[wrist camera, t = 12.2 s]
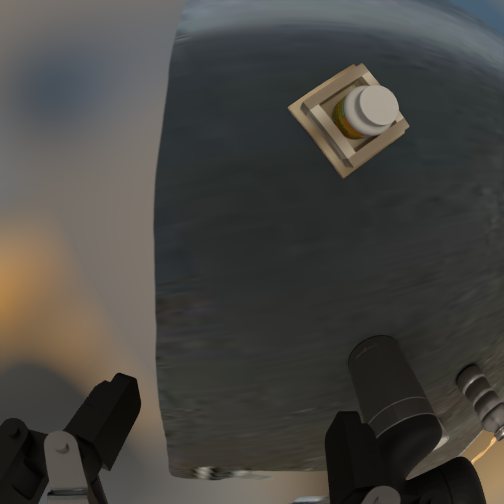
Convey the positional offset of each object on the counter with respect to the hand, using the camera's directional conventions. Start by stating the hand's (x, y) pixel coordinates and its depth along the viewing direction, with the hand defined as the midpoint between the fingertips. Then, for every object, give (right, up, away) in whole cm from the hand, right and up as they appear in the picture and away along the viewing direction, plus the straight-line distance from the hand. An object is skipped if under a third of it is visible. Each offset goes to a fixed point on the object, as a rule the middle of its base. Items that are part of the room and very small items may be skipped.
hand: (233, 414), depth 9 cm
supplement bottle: (+13, +22, +20) cm, 33 cm away
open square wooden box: (+13, +23, +21) cm, 34 cm away
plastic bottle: (+47, -20, +32) cm, 60 cm away
